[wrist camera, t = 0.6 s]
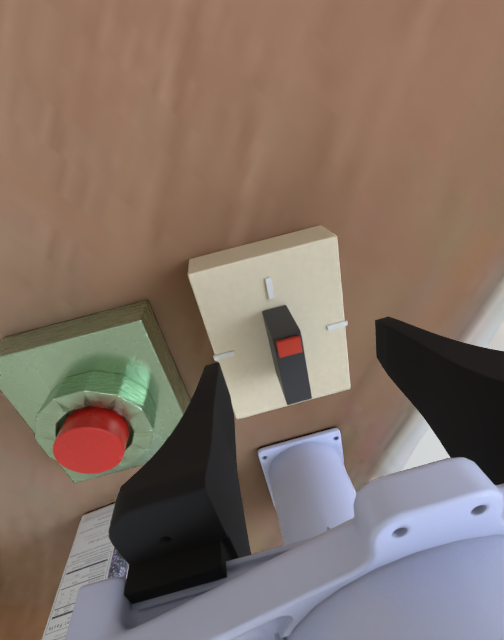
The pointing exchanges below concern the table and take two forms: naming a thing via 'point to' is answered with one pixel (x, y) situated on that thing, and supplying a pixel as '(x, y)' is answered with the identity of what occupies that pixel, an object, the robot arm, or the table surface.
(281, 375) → the block
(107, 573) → the syrup box
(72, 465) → the button
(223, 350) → the dial panel
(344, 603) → the robot arm
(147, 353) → the push button base
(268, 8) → the table surface
